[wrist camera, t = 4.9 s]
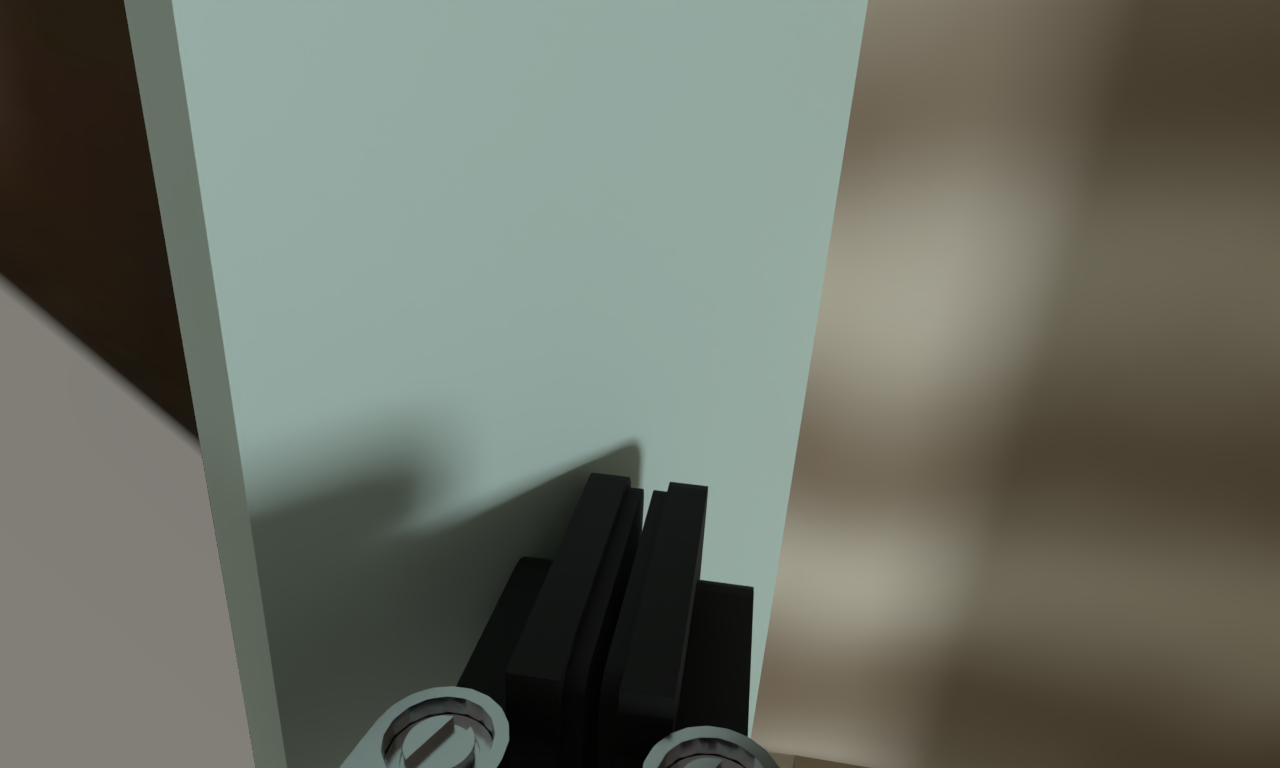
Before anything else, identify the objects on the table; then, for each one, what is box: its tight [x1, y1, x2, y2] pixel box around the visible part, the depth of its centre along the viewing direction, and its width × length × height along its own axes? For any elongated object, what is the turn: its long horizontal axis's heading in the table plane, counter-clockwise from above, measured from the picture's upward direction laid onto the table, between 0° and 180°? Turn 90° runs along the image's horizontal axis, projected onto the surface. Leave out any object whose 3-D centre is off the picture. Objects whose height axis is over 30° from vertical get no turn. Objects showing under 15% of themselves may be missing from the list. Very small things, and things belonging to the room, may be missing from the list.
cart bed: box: [751, 0, 1280, 768], centre depth 14 cm, size 20×14×12 cm
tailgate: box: [124, 0, 868, 768], centre depth 12 cm, size 19×2×10 cm
